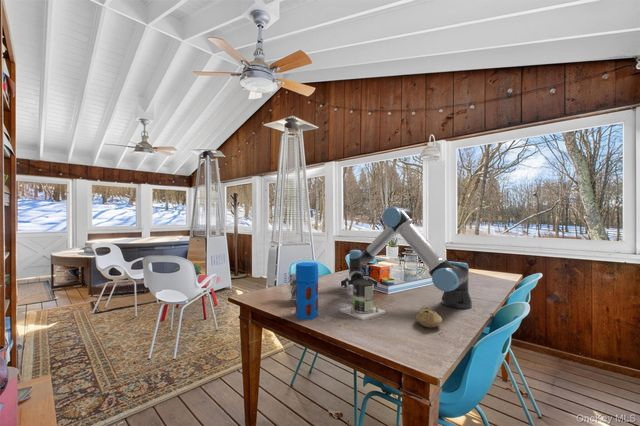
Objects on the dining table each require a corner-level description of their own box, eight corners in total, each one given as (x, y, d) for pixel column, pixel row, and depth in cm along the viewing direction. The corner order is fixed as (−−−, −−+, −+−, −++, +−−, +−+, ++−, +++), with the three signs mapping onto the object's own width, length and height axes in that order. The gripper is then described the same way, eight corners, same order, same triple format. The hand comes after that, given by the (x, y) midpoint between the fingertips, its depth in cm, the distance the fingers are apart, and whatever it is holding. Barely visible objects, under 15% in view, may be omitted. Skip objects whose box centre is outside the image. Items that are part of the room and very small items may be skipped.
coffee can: (354, 313, 142) (354, 284, 142) (351, 306, 152) (351, 279, 152) (375, 313, 142) (375, 284, 142) (371, 306, 152) (371, 279, 152)
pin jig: (385, 312, 146) (385, 304, 146) (363, 320, 136) (363, 311, 136) (362, 304, 158) (362, 297, 158) (340, 311, 148) (340, 303, 148)
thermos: (321, 313, 144) (321, 263, 144) (312, 321, 135) (312, 266, 134) (302, 310, 149) (302, 261, 149) (291, 317, 139) (291, 265, 139)
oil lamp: (432, 318, 139) (432, 301, 139) (447, 331, 124) (447, 312, 124) (409, 318, 138) (409, 301, 138) (421, 331, 123) (421, 312, 123)
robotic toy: (304, 296, 174) (304, 271, 174) (314, 305, 158) (314, 277, 158) (283, 298, 170) (283, 272, 170) (291, 308, 153) (291, 279, 153)
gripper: (377, 284, 177) (384, 294, 156) (336, 284, 178) (337, 294, 157) (377, 272, 177) (384, 280, 156) (336, 271, 178) (337, 280, 157)
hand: (360, 287), depth 156 cm, fingers open, 13 cm apart
